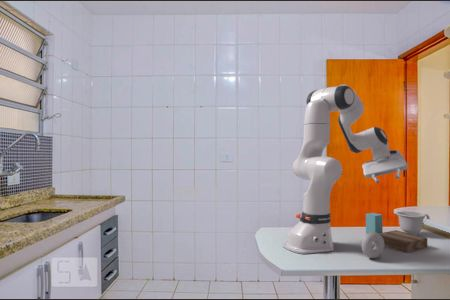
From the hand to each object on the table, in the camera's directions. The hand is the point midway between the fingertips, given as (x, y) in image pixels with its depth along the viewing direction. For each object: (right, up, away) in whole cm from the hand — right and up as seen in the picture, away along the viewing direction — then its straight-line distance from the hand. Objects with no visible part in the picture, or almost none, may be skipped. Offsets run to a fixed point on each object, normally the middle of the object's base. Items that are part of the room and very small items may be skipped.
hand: (387, 180), depth 146 cm
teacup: (+12, -27, -1) cm, 29 cm away
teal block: (-10, -27, -6) cm, 29 cm away
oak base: (-4, -27, -18) cm, 32 cm away
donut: (-24, -27, -32) cm, 48 cm away
